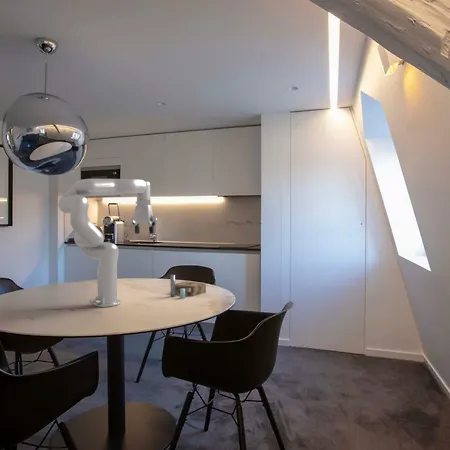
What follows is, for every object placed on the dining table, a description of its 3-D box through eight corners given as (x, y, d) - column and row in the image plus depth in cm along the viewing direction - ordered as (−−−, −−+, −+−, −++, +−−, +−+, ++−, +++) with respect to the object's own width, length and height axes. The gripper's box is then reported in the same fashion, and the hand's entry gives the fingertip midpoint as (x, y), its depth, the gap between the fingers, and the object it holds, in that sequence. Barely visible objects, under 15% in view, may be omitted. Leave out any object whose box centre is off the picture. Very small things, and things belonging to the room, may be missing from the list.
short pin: (183, 298, 195) (183, 289, 195) (179, 298, 197) (179, 289, 197) (186, 297, 197) (186, 288, 197) (182, 297, 199) (182, 288, 199)
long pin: (173, 297, 199) (173, 275, 199) (169, 296, 200) (169, 275, 200) (176, 296, 201) (176, 275, 201) (172, 295, 203) (172, 274, 202)
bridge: (193, 296, 202) (193, 286, 202) (174, 293, 209) (174, 284, 209) (205, 292, 212) (205, 283, 212) (187, 290, 220) (187, 281, 219)
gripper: (127, 203, 203) (127, 233, 204) (152, 202, 196) (153, 234, 197) (135, 203, 210) (136, 233, 210) (160, 203, 203) (160, 233, 203)
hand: (144, 233), depth 203 cm, fingers open, 9 cm apart
